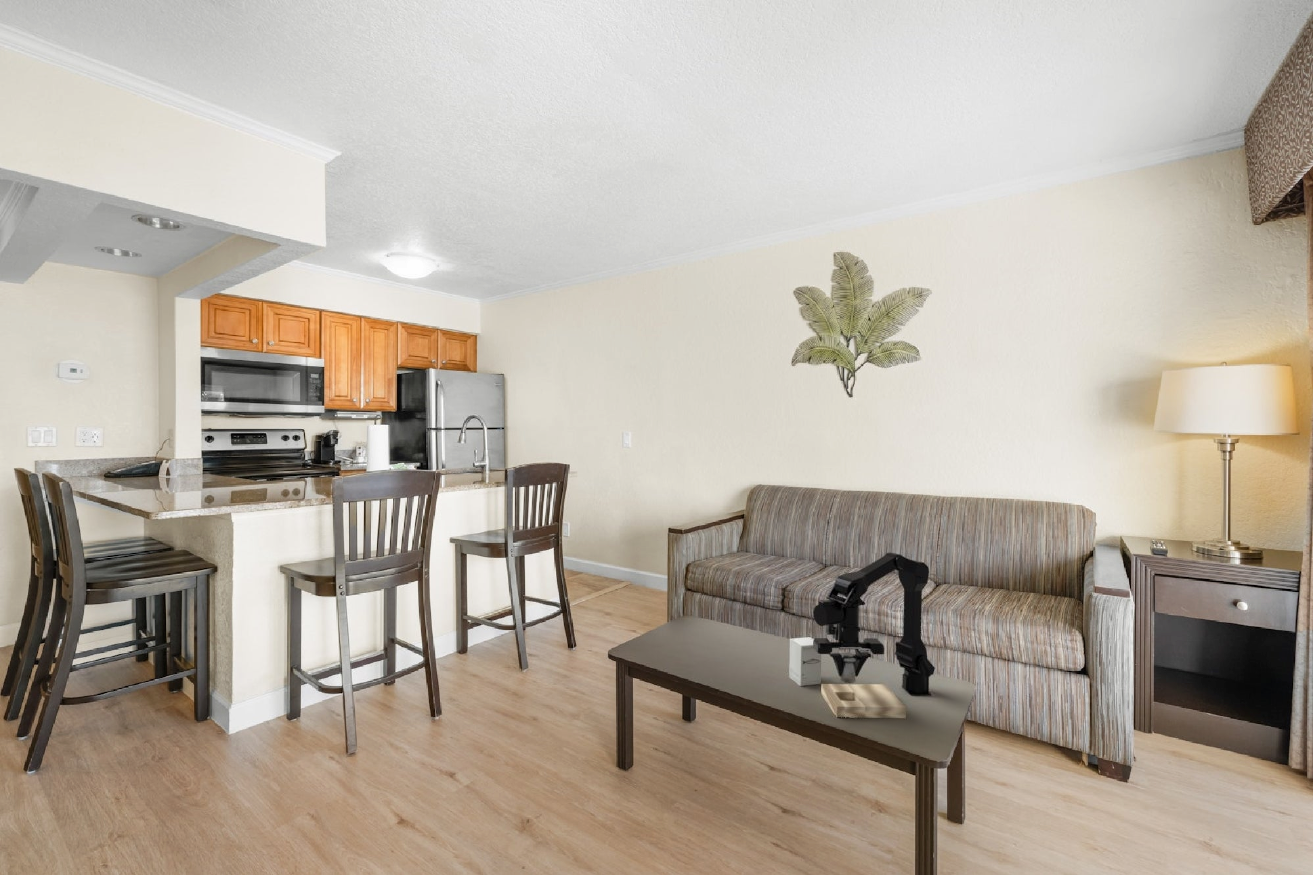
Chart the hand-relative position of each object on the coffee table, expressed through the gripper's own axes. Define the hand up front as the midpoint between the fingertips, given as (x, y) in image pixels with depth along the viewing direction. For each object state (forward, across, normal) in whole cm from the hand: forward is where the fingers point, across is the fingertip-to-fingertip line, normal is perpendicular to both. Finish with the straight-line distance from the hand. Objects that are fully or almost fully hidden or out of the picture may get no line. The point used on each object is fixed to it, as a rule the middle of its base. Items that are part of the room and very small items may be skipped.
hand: (847, 676), depth 169 cm
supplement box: (+9, +8, -18) cm, 21 cm away
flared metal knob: (+1, 0, 0) cm, 1 cm away
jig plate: (+9, -4, -1) cm, 10 cm away
